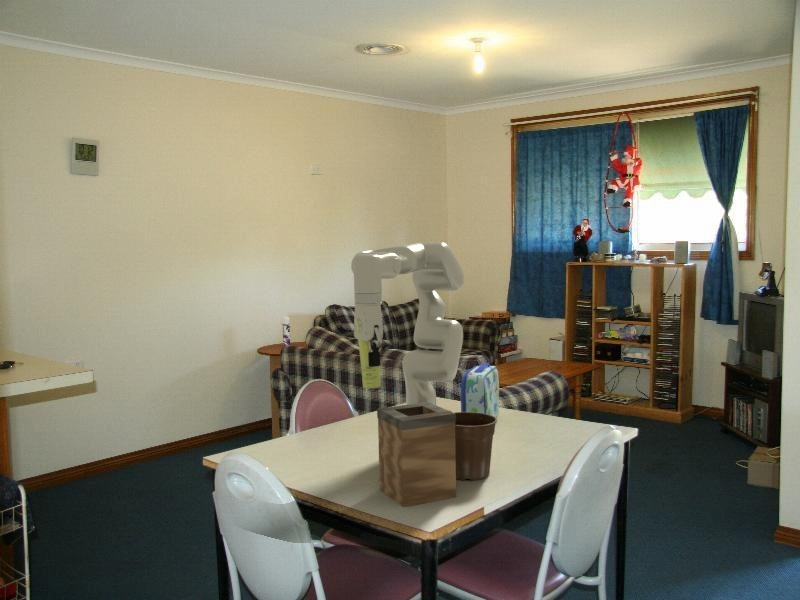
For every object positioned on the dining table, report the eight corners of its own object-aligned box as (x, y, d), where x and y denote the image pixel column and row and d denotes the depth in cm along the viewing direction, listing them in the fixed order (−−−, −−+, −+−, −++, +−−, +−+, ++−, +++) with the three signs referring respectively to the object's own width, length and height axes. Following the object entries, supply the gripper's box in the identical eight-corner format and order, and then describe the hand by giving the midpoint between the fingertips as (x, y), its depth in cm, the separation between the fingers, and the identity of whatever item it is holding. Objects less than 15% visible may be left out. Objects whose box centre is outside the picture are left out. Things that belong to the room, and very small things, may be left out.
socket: (378, 489, 199) (377, 408, 197) (429, 480, 205) (427, 402, 203) (403, 507, 185) (402, 420, 183) (456, 497, 191) (455, 413, 190)
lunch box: (473, 414, 280) (472, 359, 279) (501, 416, 277) (501, 360, 275) (457, 432, 256) (456, 372, 254) (488, 434, 252) (487, 373, 251)
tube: (366, 390, 201) (363, 319, 200) (357, 387, 206) (354, 317, 204) (384, 387, 204) (381, 317, 202) (375, 384, 209) (372, 315, 207)
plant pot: (508, 472, 210) (508, 417, 209) (475, 487, 198) (474, 428, 197) (463, 462, 221) (462, 409, 220) (428, 475, 209) (427, 419, 208)
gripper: (344, 297, 209) (346, 361, 211) (367, 302, 193) (370, 371, 195) (368, 296, 212) (370, 358, 214) (393, 300, 197) (395, 368, 198)
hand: (370, 363), depth 204 cm, fingers closed on tube, 4 cm apart
